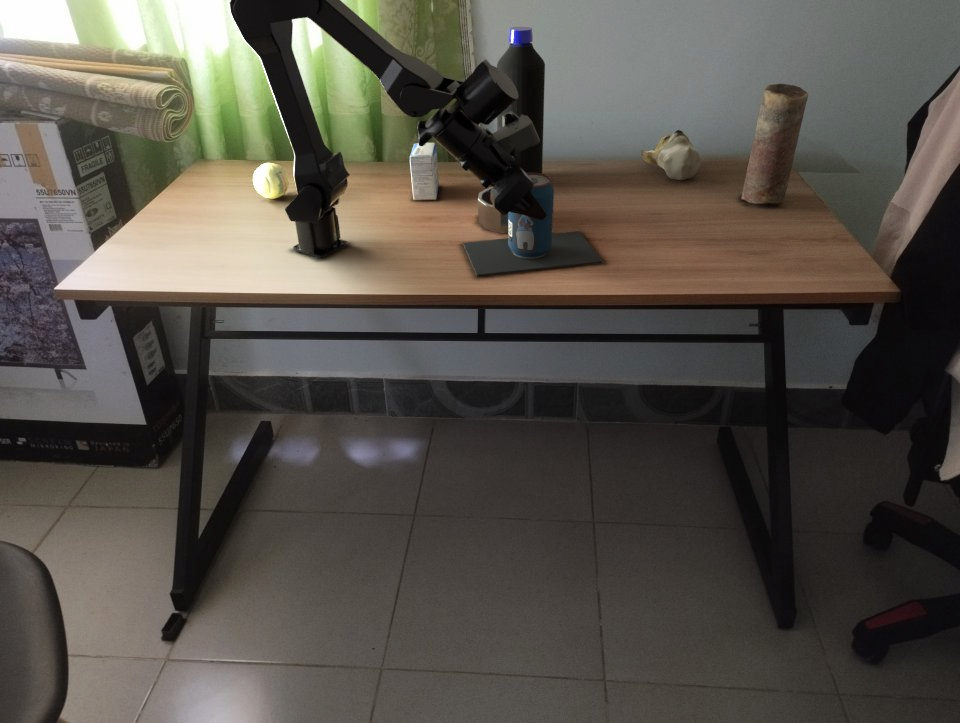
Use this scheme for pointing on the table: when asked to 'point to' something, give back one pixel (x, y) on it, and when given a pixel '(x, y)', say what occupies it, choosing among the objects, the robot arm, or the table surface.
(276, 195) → the tennis ball
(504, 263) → the rubber mat
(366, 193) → the table surface
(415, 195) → the medicine box
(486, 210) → the steel holder
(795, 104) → the brown tall cylinder
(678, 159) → the ceramic sculpture
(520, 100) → the bottle
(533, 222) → the soda can
